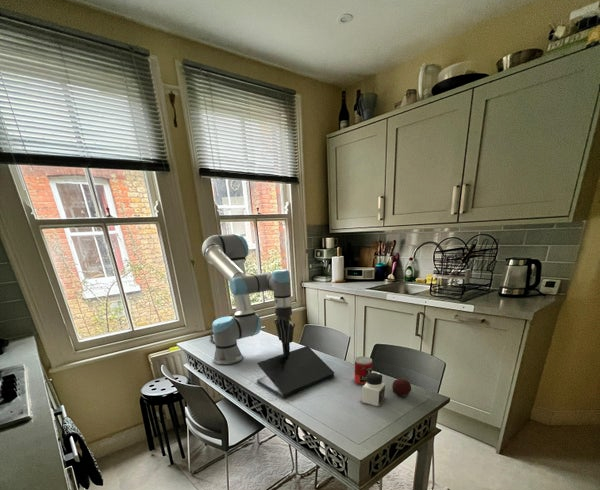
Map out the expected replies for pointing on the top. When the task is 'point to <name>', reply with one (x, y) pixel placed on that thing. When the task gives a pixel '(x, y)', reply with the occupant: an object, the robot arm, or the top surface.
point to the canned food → (362, 369)
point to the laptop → (271, 387)
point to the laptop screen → (295, 369)
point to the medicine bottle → (373, 389)
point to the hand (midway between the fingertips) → (286, 355)
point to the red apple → (401, 387)
